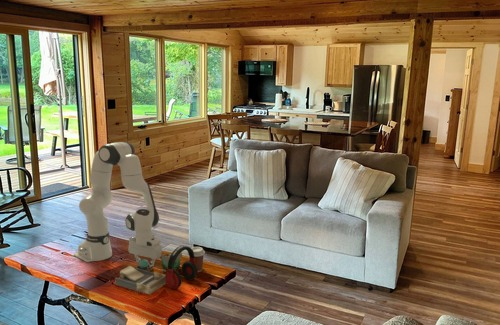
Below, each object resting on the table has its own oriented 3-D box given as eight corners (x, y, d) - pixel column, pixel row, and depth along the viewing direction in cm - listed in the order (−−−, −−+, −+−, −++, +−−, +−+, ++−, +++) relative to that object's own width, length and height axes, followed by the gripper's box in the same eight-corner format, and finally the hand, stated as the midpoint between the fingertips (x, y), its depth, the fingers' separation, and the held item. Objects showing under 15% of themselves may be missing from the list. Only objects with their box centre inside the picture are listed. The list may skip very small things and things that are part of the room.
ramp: (120, 277, 204) (119, 270, 203) (129, 272, 210) (129, 265, 209) (135, 282, 200) (134, 274, 199) (144, 276, 206) (144, 269, 205)
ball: (137, 269, 216) (137, 260, 215) (143, 265, 221) (143, 257, 220) (144, 271, 214) (144, 262, 213) (150, 267, 219) (150, 258, 218)
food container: (164, 276, 211) (164, 258, 209) (160, 272, 216) (159, 254, 214) (185, 271, 218) (185, 253, 216) (181, 266, 223) (181, 250, 221)
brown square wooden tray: (134, 271, 216) (134, 267, 216) (143, 266, 222) (143, 262, 222) (144, 274, 213) (144, 270, 213) (153, 268, 219) (153, 265, 219)
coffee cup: (198, 274, 214) (198, 253, 211) (184, 270, 218) (184, 250, 216) (208, 268, 221) (208, 248, 219) (195, 264, 226) (194, 244, 224)
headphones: (177, 293, 194) (176, 255, 190) (162, 287, 199) (161, 250, 195) (200, 279, 208) (200, 243, 205) (185, 274, 214) (185, 239, 210)
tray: (136, 290, 195) (136, 283, 195) (155, 279, 208) (154, 271, 207) (149, 294, 192) (149, 287, 191) (167, 282, 204) (167, 275, 204)
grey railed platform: (115, 284, 201) (114, 278, 201) (134, 273, 214) (134, 267, 213) (136, 290, 195) (136, 284, 195) (155, 279, 208) (155, 273, 207)
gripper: (125, 238, 216) (126, 262, 219) (155, 244, 208) (156, 269, 210) (133, 234, 222) (134, 257, 224) (163, 240, 214) (163, 264, 216)
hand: (145, 263), depth 217 cm, fingers open, 8 cm apart
